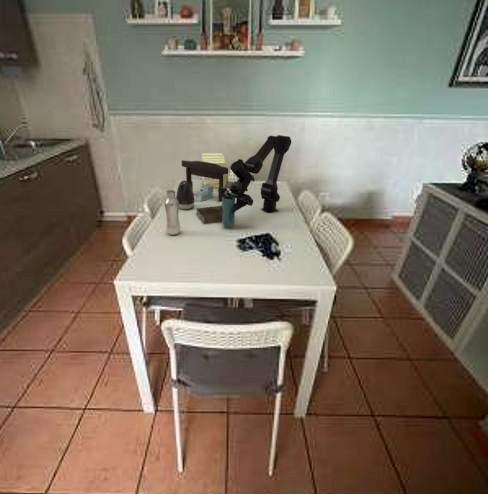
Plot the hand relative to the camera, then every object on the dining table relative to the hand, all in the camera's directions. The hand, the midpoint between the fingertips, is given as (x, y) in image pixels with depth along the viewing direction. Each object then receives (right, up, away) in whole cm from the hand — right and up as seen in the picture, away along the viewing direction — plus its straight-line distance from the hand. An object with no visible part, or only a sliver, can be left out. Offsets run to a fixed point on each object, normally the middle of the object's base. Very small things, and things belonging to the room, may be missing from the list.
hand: (226, 211), depth 153 cm
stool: (-13, +14, +43) cm, 47 cm away
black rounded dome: (-23, +6, +28) cm, 37 cm away
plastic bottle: (-25, -11, -2) cm, 27 cm away
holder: (-7, -1, +16) cm, 18 cm away
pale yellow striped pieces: (-8, +28, +69) cm, 75 cm away
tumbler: (+1, -5, +4) cm, 7 cm away
